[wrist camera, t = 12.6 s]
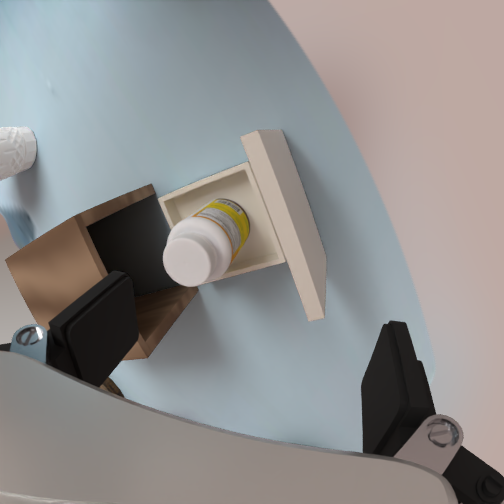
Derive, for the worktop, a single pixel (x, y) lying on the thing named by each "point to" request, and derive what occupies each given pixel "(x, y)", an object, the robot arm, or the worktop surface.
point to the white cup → (16, 150)
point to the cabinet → (89, 275)
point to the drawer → (265, 215)
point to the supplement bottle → (206, 242)
